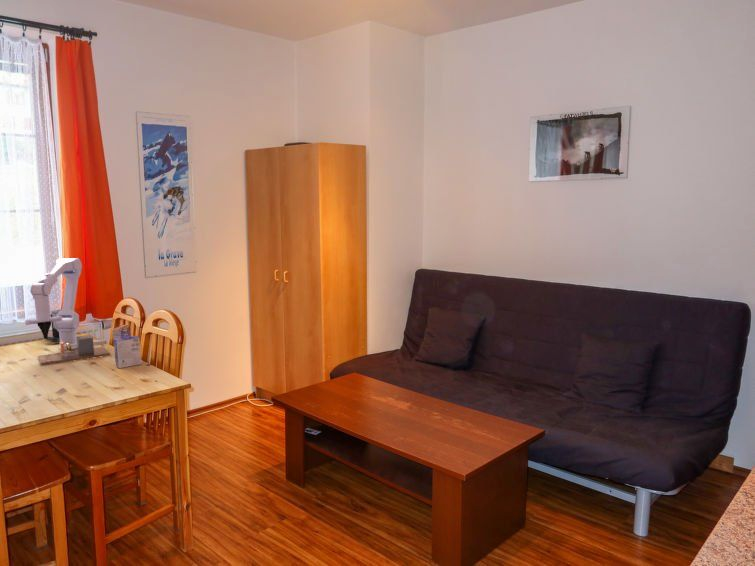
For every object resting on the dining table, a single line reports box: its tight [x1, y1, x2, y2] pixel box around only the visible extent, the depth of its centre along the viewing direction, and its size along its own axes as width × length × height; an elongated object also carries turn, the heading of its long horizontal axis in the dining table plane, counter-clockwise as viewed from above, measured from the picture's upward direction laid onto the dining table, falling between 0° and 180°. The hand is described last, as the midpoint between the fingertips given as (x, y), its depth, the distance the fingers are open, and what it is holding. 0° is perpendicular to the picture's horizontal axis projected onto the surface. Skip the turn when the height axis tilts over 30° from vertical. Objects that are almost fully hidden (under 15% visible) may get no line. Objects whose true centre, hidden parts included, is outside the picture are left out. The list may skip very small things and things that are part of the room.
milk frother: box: [44, 309, 62, 344], centre depth 306 cm, size 14×16×15 cm
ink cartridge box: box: [112, 332, 142, 369], centre depth 260 cm, size 10×6×14 cm, turn 129°
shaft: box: [59, 339, 107, 355], centre depth 277 cm, size 19×5×5 cm, turn 123°
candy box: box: [111, 324, 131, 363], centre depth 268 cm, size 9×4×15 cm, turn 177°
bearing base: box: [37, 334, 111, 366], centre depth 275 cm, size 28×14×9 cm, turn 123°
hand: (45, 338), depth 272 cm, fingers closed
